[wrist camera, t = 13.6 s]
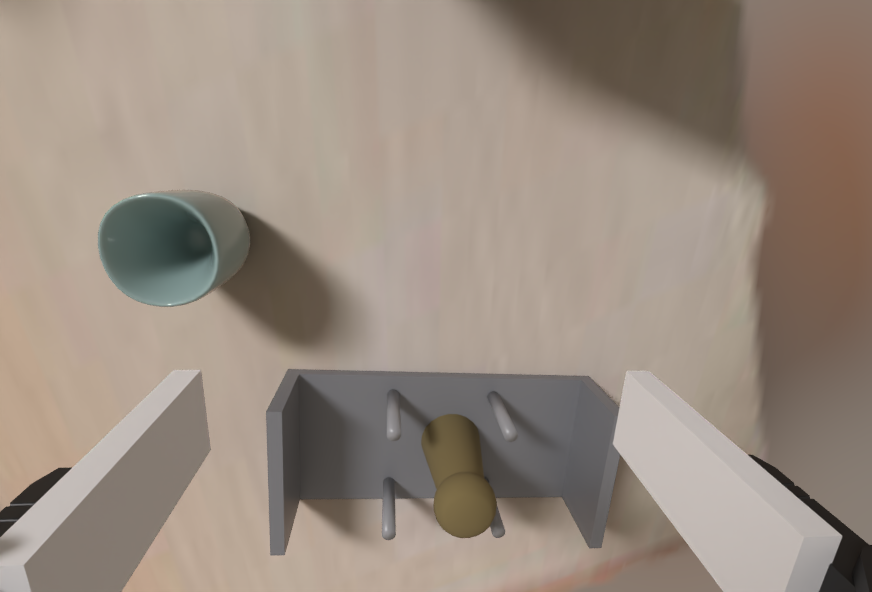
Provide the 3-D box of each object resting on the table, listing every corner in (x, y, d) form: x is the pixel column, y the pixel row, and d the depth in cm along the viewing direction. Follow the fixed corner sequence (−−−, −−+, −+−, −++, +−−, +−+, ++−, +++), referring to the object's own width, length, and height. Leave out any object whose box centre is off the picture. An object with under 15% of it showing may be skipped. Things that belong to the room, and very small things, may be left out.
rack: (290, 492, 47) (270, 555, 39) (288, 369, 43) (266, 411, 36) (569, 490, 50) (601, 547, 43) (588, 376, 47) (628, 416, 39)
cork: (434, 474, 47) (447, 561, 36) (411, 427, 45) (418, 505, 35) (487, 452, 47) (516, 533, 36) (467, 404, 45) (490, 475, 35)
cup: (268, 272, 41) (230, 303, 31) (179, 279, 40) (112, 313, 30) (253, 184, 39) (207, 188, 29) (158, 190, 38) (80, 196, 28)
